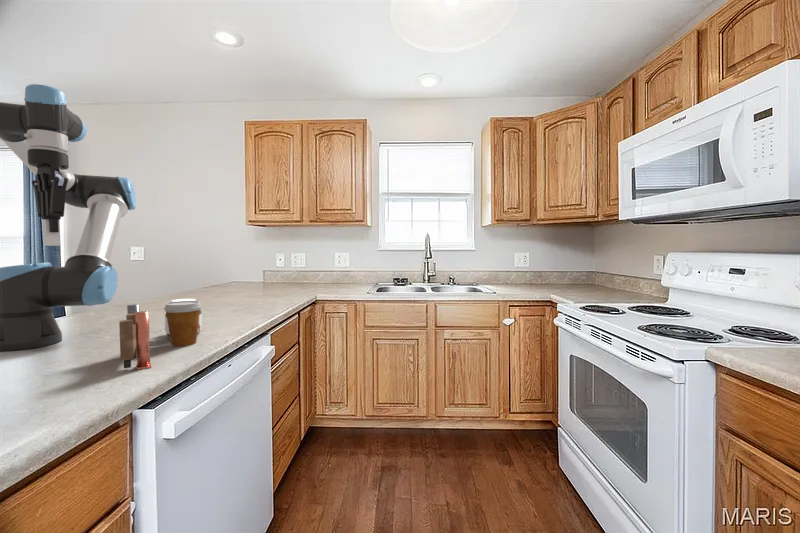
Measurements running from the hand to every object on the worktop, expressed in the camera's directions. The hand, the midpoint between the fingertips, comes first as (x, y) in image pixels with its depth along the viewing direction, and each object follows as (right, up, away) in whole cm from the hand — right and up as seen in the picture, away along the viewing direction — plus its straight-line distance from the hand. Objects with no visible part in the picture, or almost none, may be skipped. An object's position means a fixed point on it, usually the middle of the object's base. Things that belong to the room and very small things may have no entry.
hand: (52, 245), depth 96 cm
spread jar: (+19, -28, +25) cm, 41 cm away
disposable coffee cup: (+25, -28, +15) cm, 40 cm away
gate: (+23, -28, -4) cm, 37 cm away
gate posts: (+23, -29, -2) cm, 37 cm away
